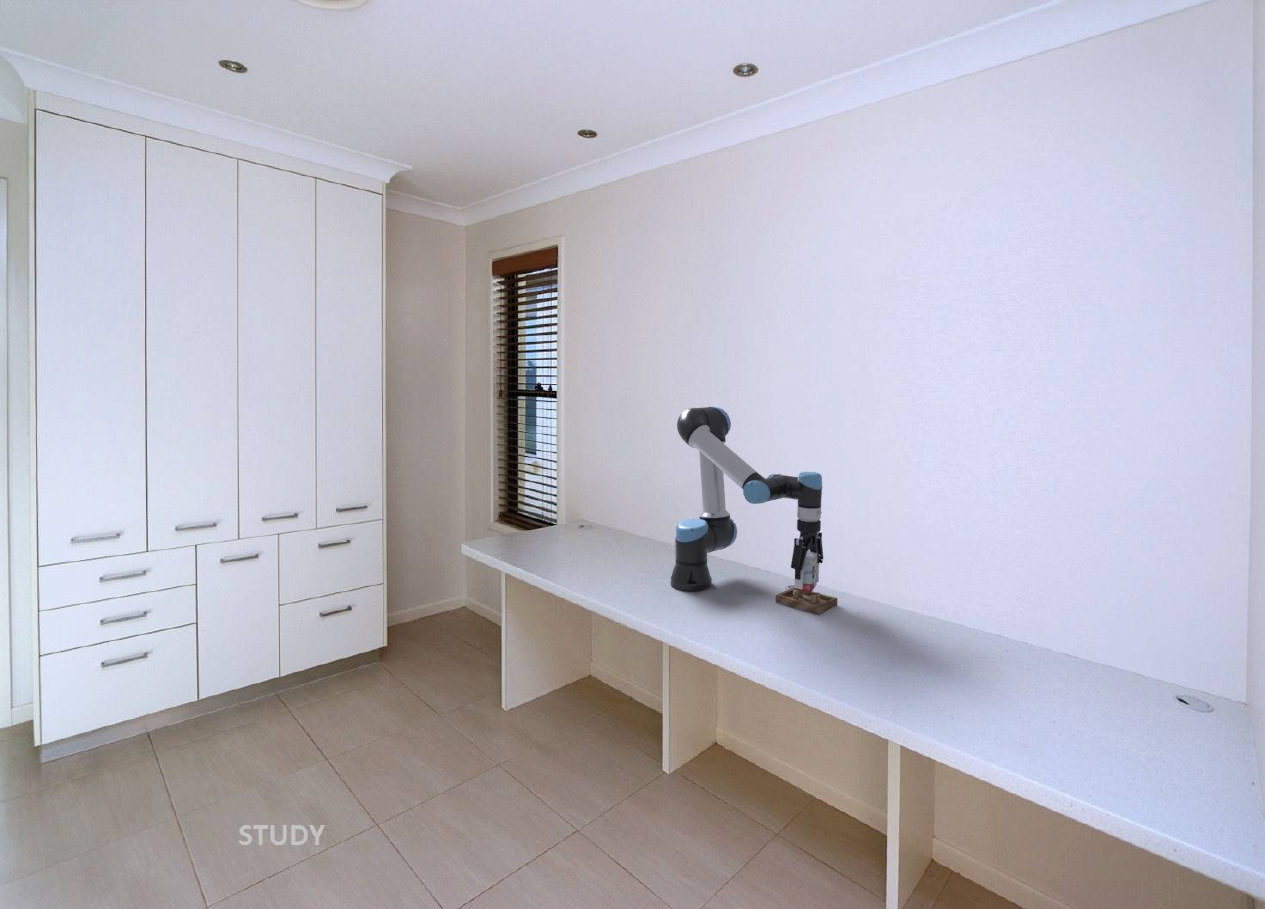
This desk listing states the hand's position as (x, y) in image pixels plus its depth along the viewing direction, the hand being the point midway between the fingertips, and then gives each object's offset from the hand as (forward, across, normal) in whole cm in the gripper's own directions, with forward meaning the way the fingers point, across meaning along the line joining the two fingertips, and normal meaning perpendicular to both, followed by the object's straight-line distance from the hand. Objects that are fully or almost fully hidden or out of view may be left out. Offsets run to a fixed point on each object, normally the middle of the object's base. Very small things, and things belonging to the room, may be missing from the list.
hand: (806, 584), depth 207 cm
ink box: (+1, 0, 0) cm, 1 cm away
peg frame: (+7, 0, 0) cm, 7 cm away
